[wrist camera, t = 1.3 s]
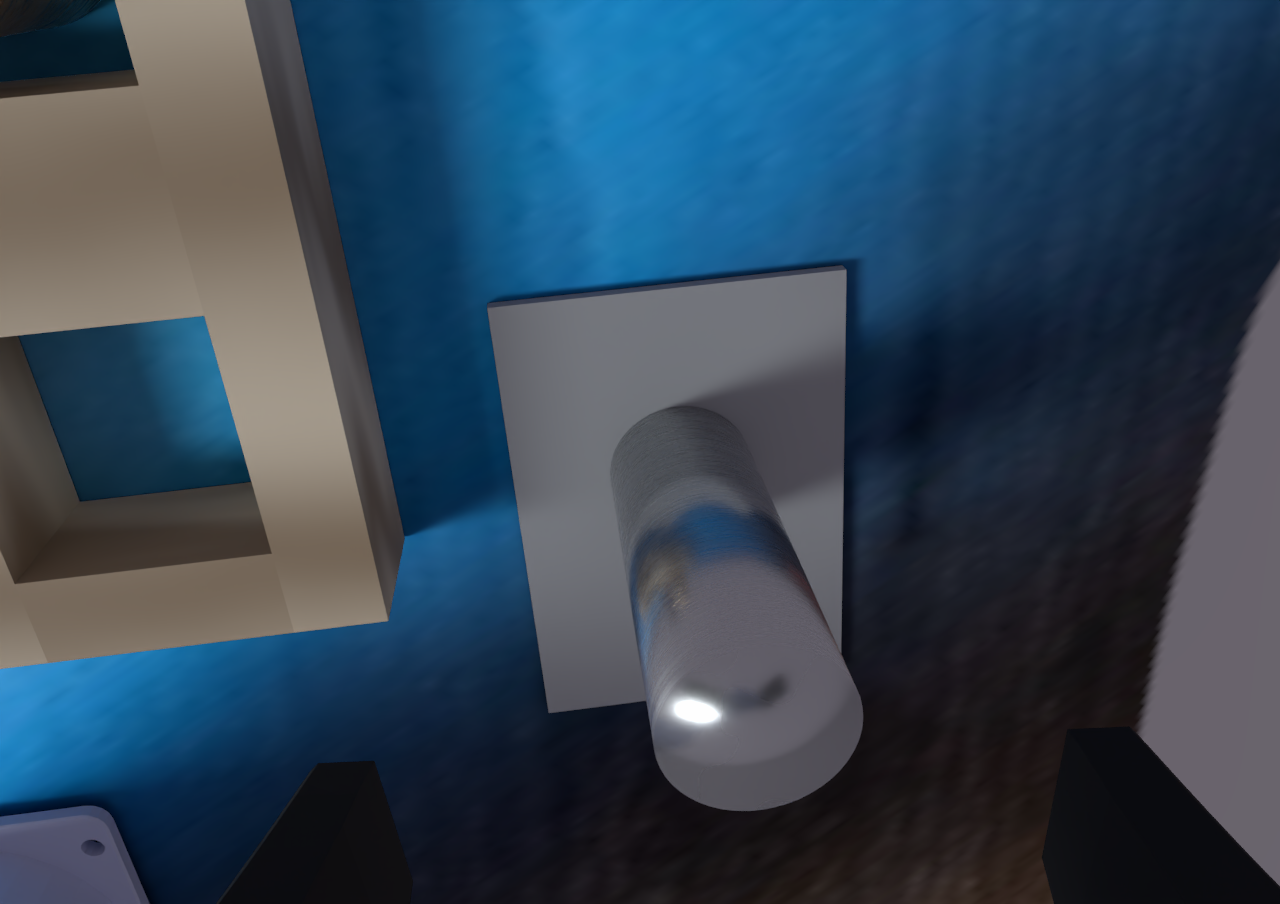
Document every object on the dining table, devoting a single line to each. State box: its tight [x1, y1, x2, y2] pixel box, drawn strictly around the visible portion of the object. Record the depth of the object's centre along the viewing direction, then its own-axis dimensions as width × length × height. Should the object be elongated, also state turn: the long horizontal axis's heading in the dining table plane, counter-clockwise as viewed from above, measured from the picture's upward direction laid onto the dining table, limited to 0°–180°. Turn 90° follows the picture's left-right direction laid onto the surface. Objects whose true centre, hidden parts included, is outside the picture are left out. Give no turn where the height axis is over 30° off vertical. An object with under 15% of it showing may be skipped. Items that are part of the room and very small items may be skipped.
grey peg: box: [610, 406, 863, 811], centre depth 18 cm, size 3×3×8 cm
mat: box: [487, 265, 847, 713], centre depth 22 cm, size 10×7×1 cm
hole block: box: [0, 0, 405, 669], centre depth 17 cm, size 16×8×3 cm, turn 4°
